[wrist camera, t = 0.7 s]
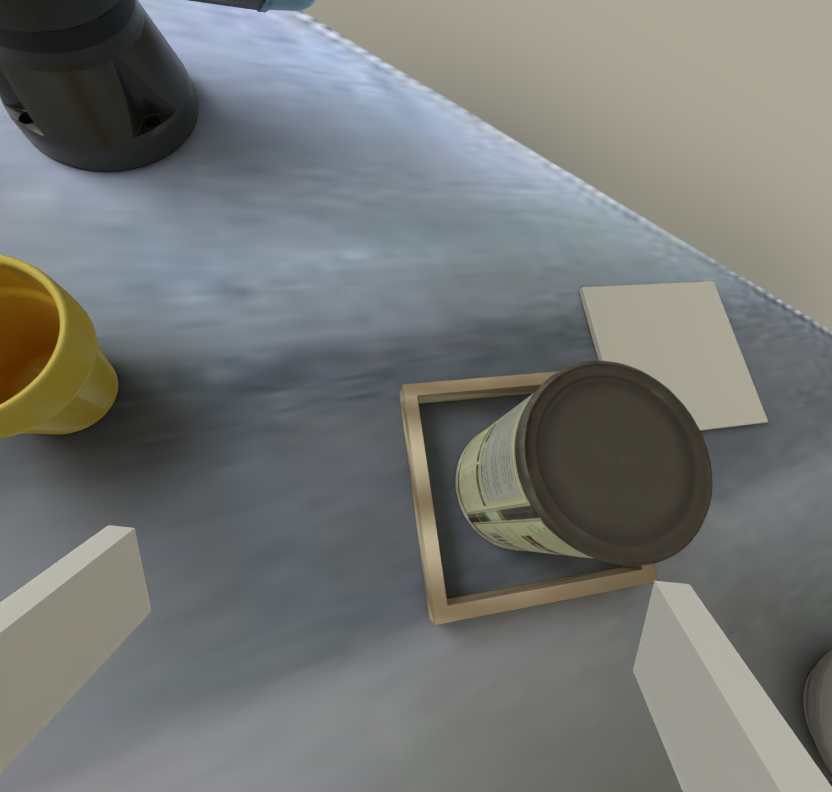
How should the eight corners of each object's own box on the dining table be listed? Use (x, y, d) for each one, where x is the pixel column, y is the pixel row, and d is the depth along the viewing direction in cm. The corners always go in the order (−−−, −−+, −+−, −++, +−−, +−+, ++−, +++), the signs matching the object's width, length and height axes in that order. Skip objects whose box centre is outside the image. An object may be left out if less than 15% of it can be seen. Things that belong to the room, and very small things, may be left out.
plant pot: (171, 352, 33) (103, 283, 24) (105, 478, 30) (-6, 455, 20) (41, 311, 33) (-80, 225, 23) (-42, 435, 29) (-223, 391, 20)
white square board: (578, 290, 41) (582, 287, 40) (708, 284, 44) (713, 281, 43) (621, 440, 37) (625, 438, 36) (762, 423, 39) (768, 421, 39)
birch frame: (399, 394, 35) (402, 384, 32) (583, 378, 38) (598, 368, 36) (428, 617, 30) (435, 624, 28) (636, 578, 33) (658, 581, 31)
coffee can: (565, 423, 36) (689, 362, 23) (582, 548, 33) (736, 562, 20) (450, 421, 35) (511, 355, 22) (456, 553, 32) (533, 570, 18)
